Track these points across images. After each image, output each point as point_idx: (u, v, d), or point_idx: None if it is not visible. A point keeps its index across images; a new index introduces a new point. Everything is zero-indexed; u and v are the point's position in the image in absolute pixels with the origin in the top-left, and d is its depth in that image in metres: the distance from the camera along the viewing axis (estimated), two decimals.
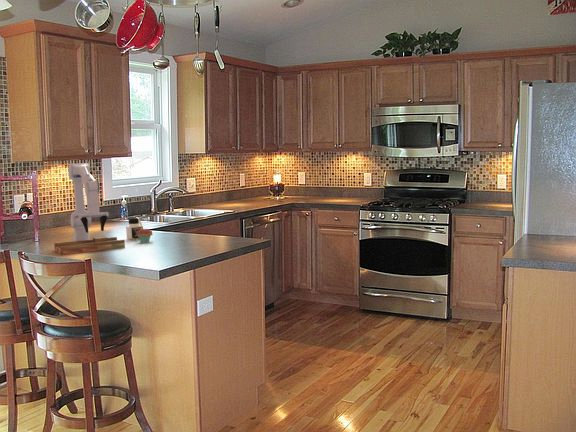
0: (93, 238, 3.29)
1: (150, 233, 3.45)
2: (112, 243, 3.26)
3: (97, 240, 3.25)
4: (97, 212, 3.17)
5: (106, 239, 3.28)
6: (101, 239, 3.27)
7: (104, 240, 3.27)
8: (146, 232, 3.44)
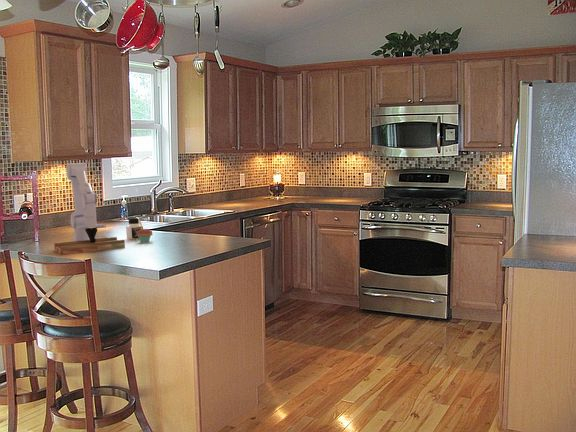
0: None
1: (150, 233, 3.45)
2: (112, 243, 3.26)
3: (97, 240, 3.25)
4: (94, 224, 3.25)
5: (106, 239, 3.28)
6: (101, 239, 3.27)
7: (104, 240, 3.27)
8: (146, 232, 3.44)
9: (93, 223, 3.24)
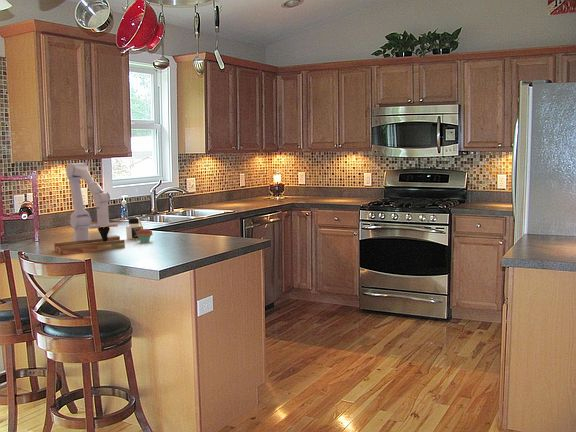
0: None
1: (150, 233, 3.45)
2: (112, 243, 3.26)
3: (109, 239, 3.29)
4: (107, 223, 3.28)
5: (118, 238, 3.31)
6: (113, 238, 3.30)
7: (116, 239, 3.31)
8: (146, 232, 3.44)
9: (105, 222, 3.27)
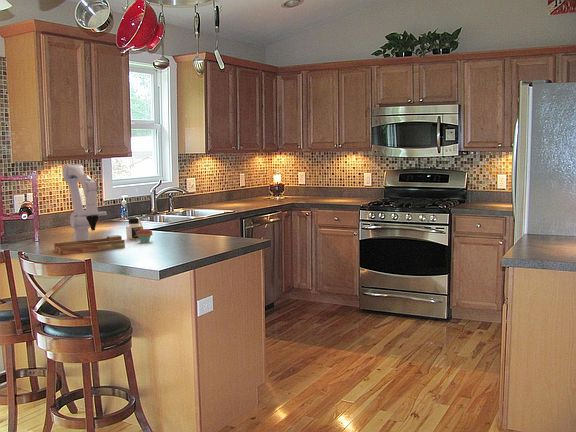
0: (107, 237, 3.33)
1: (150, 233, 3.45)
2: (112, 243, 3.26)
3: (111, 239, 3.29)
4: (95, 211, 3.27)
5: (120, 238, 3.32)
6: (115, 238, 3.30)
7: (118, 239, 3.31)
8: (146, 232, 3.44)
9: (94, 210, 3.26)
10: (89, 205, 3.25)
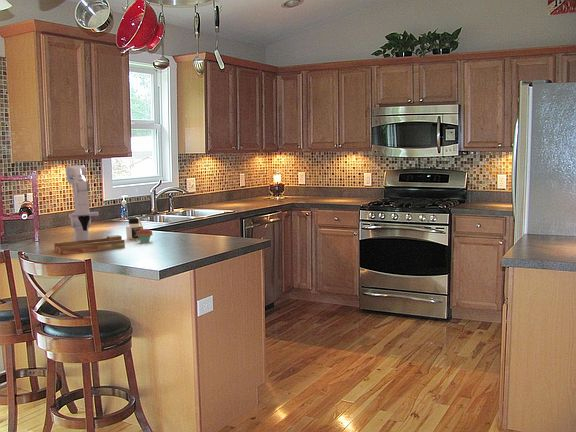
0: (107, 237, 3.33)
1: (150, 233, 3.45)
2: (112, 243, 3.26)
3: (111, 239, 3.29)
4: (87, 212, 3.26)
5: (120, 238, 3.32)
6: (115, 238, 3.30)
7: (118, 239, 3.31)
8: (146, 232, 3.44)
9: (86, 211, 3.25)
10: (81, 205, 3.24)
